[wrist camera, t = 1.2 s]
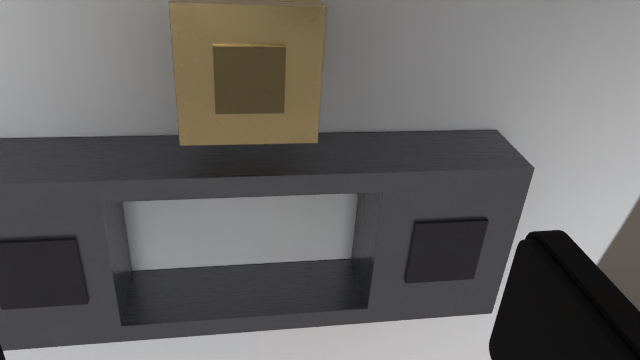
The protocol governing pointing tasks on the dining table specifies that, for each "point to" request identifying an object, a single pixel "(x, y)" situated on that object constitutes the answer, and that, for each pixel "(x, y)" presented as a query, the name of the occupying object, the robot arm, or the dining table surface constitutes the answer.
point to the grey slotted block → (259, 279)
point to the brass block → (247, 70)
